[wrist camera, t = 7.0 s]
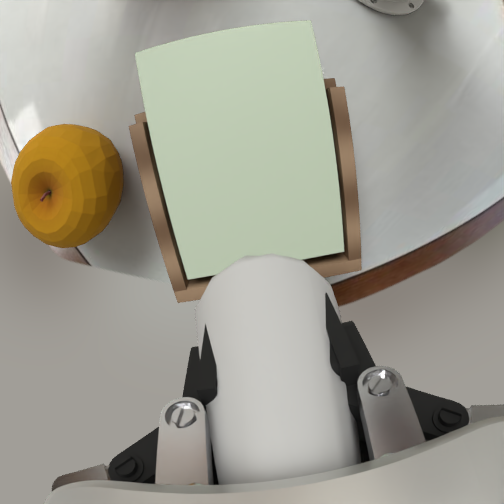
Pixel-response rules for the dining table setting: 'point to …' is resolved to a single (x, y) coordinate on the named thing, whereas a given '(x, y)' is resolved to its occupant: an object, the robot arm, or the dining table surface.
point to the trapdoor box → (320, 264)
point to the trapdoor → (243, 144)
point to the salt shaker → (274, 373)
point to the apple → (67, 184)
